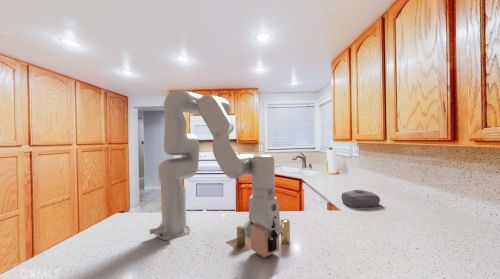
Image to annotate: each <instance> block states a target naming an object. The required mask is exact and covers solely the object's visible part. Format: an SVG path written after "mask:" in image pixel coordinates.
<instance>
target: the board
mask: <svg viewBox="0 0 500 279" xmlns="http://www.w3.org/2000/svg"><path fill="white" fill-rule="evenodd" d="M279 239H281V236H279ZM225 243H226V244H228V245H229V246H231V247H232V248H233V249H234V250H236V251H237V252H239V254H244V253H245V252H248V251H251V250H252V249H251V232H250V233H248V234H247V233H246V227H245V226H243V225H238V226H237V227H236V238H234V239H231V240H227V241H225Z"/></svg>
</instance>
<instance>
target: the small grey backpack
mask: <svg viewBox="0 0 500 279" xmlns="http://www.w3.org/2000/svg"><path fill="white" fill-rule="evenodd" d="M341 201H342V204H344V205H346V206H347V207H350V208H357V209H361V208H362V209H363V208H364V209H365V208H367V209H368V208H374V207H375V208H376V207H379V205H380V201H381V198H380V196H379V195H377V194H376V193H374V192H372V191H368V190H364V189H362V190H361V189H356V190H354V189H352V190H349V191H344V192H342V193H341Z"/></svg>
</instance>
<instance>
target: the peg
mask: <svg viewBox="0 0 500 279" xmlns="http://www.w3.org/2000/svg"><path fill="white" fill-rule="evenodd" d="M290 222H291V220H289V219H285V218H284V219H280V226H281V228H282V229H283V232H282V233H281V234H280V242H281V244H282V245H290V244H291V234H290V233H291V231H290V230H291V228H290V225H291V224H290Z"/></svg>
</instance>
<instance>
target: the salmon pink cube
mask: <svg viewBox="0 0 500 279" xmlns="http://www.w3.org/2000/svg"><path fill="white" fill-rule="evenodd" d="M271 228H273V227H271ZM250 233H251V250H252V251H253V252H255V253H256V254H258V255H259V256H261V257H262V258H266V257H269V256H270V255H272V254H275V253H277V252H279V251H280V238H279V237H280V235H279V236H278V238H276V239H277V249H276V250H275V251H272V252H268V239H269V236H268V231H267V230H265V229H263V228H261V227H259V226H257V225H255V224H252V225H251V224H250ZM271 233H272V234H273V230H272V231H271Z"/></svg>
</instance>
